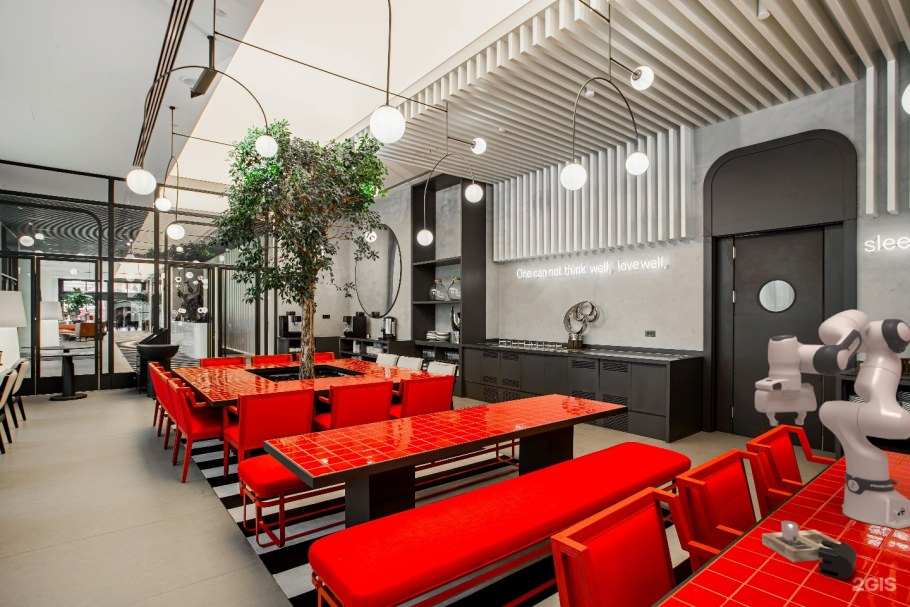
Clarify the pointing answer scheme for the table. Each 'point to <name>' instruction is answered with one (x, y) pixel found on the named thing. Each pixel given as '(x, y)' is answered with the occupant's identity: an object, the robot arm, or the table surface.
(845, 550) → the end cap
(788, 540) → the metal pin
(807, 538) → the beige rectangular frame
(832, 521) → the table surface
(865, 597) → the table surface
